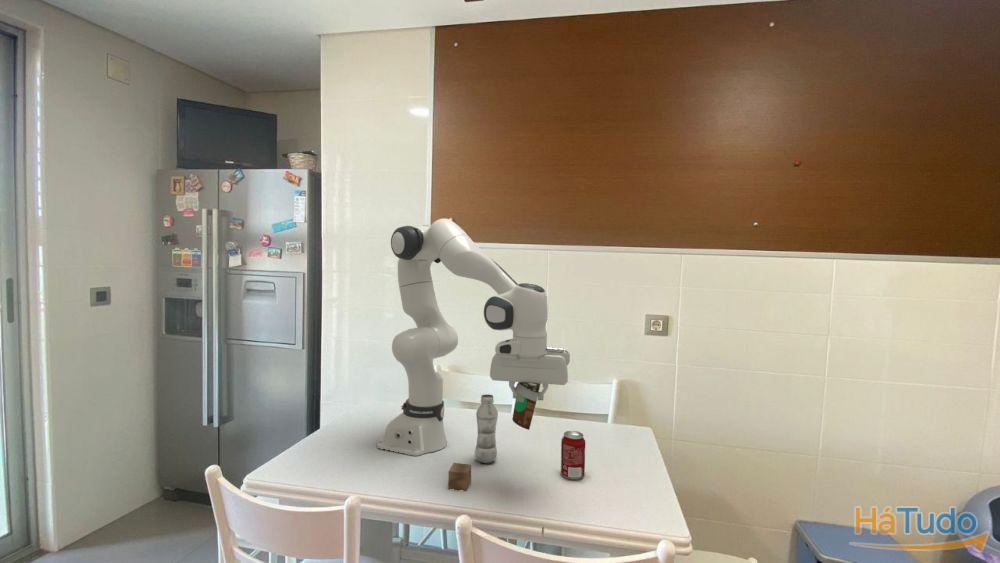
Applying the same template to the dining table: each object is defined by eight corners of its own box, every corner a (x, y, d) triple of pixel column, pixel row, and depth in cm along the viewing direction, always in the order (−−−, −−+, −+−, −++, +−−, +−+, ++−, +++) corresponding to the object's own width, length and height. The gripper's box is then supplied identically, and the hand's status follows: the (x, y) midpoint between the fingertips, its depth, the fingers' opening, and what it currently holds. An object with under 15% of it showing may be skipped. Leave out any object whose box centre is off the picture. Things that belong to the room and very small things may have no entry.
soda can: (584, 482, 124) (585, 440, 123) (559, 479, 125) (560, 437, 124) (584, 471, 130) (585, 431, 130) (561, 468, 132) (562, 428, 131)
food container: (511, 409, 124) (519, 374, 123) (532, 415, 123) (541, 380, 122) (504, 425, 112) (514, 386, 111) (528, 432, 111) (538, 393, 110)
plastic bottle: (475, 456, 139) (476, 392, 138) (497, 456, 139) (498, 393, 138) (473, 465, 133) (475, 399, 132) (496, 466, 132) (497, 399, 132)
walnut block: (448, 489, 119) (448, 471, 118) (453, 480, 124) (453, 462, 123) (466, 491, 118) (467, 473, 118) (470, 482, 123) (471, 464, 122)
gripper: (570, 346, 117) (568, 398, 118) (493, 342, 121) (492, 392, 121) (569, 350, 111) (568, 405, 112) (489, 346, 115) (488, 399, 115)
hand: (528, 398), depth 117 cm, fingers closed on food container, 5 cm apart
